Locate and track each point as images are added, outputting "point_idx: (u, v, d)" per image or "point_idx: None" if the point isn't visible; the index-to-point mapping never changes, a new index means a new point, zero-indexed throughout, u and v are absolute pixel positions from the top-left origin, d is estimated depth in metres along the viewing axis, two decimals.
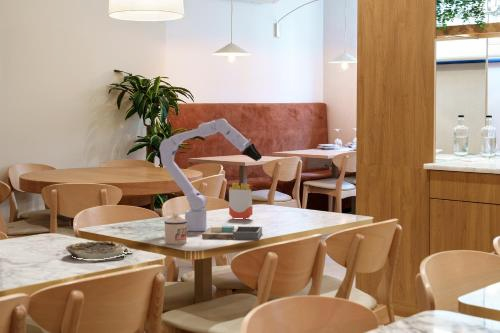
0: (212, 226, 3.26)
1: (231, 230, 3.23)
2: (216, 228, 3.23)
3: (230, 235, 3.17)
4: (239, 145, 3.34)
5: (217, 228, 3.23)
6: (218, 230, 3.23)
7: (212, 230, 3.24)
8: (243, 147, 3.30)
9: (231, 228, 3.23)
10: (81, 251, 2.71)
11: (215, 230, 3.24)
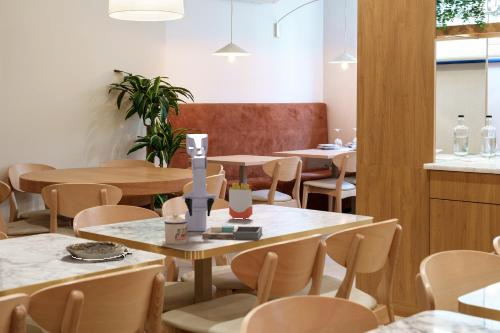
0: (212, 226, 3.26)
1: (231, 230, 3.23)
2: (216, 228, 3.23)
3: (230, 235, 3.17)
4: None
5: (217, 228, 3.23)
6: (218, 230, 3.23)
7: (212, 230, 3.24)
8: None
9: (231, 228, 3.23)
10: (81, 251, 2.71)
11: (215, 230, 3.24)
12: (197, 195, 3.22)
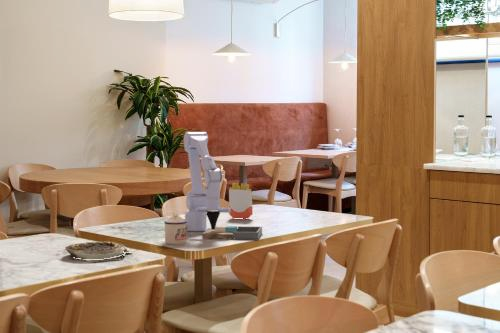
0: (216, 226, 3.26)
1: (234, 230, 3.23)
2: (220, 228, 3.23)
3: (230, 235, 3.17)
4: None
5: (221, 228, 3.23)
6: (222, 230, 3.23)
7: (216, 230, 3.24)
8: None
9: (234, 228, 3.23)
10: (80, 251, 2.70)
11: (219, 230, 3.23)
12: (211, 208, 3.22)
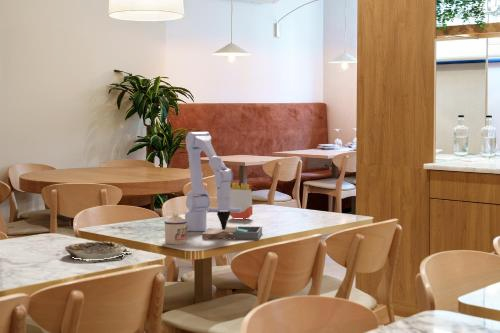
0: (226, 226, 3.25)
1: None
2: (230, 228, 3.23)
3: (230, 235, 3.17)
4: None
5: (231, 228, 3.23)
6: (232, 230, 3.23)
7: (226, 230, 3.23)
8: None
9: None
10: (80, 251, 2.70)
11: (229, 230, 3.23)
12: (221, 208, 3.21)
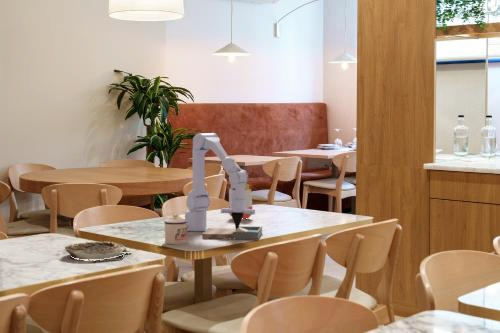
0: None
1: None
2: (242, 231, 3.22)
3: (230, 235, 3.17)
4: None
5: (243, 231, 3.22)
6: None
7: (237, 231, 3.23)
8: None
9: None
10: (80, 251, 2.70)
11: None
12: (236, 210, 3.21)
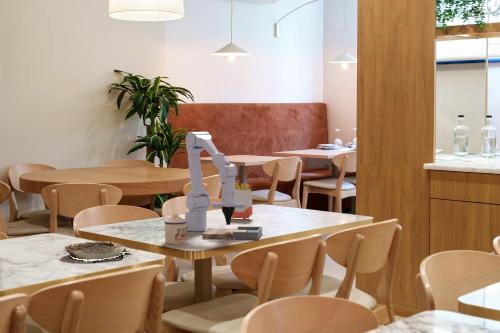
0: (236, 230, 3.25)
1: None
2: None
3: (230, 235, 3.17)
4: None
5: None
6: None
7: None
8: None
9: None
10: (80, 251, 2.70)
11: None
12: (226, 204, 3.21)
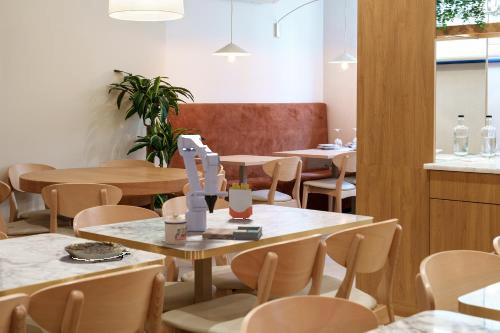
0: (236, 230, 3.25)
1: None
2: None
3: (230, 235, 3.17)
4: None
5: None
6: None
7: None
8: None
9: None
10: (79, 251, 2.70)
11: None
12: (209, 192, 3.25)
